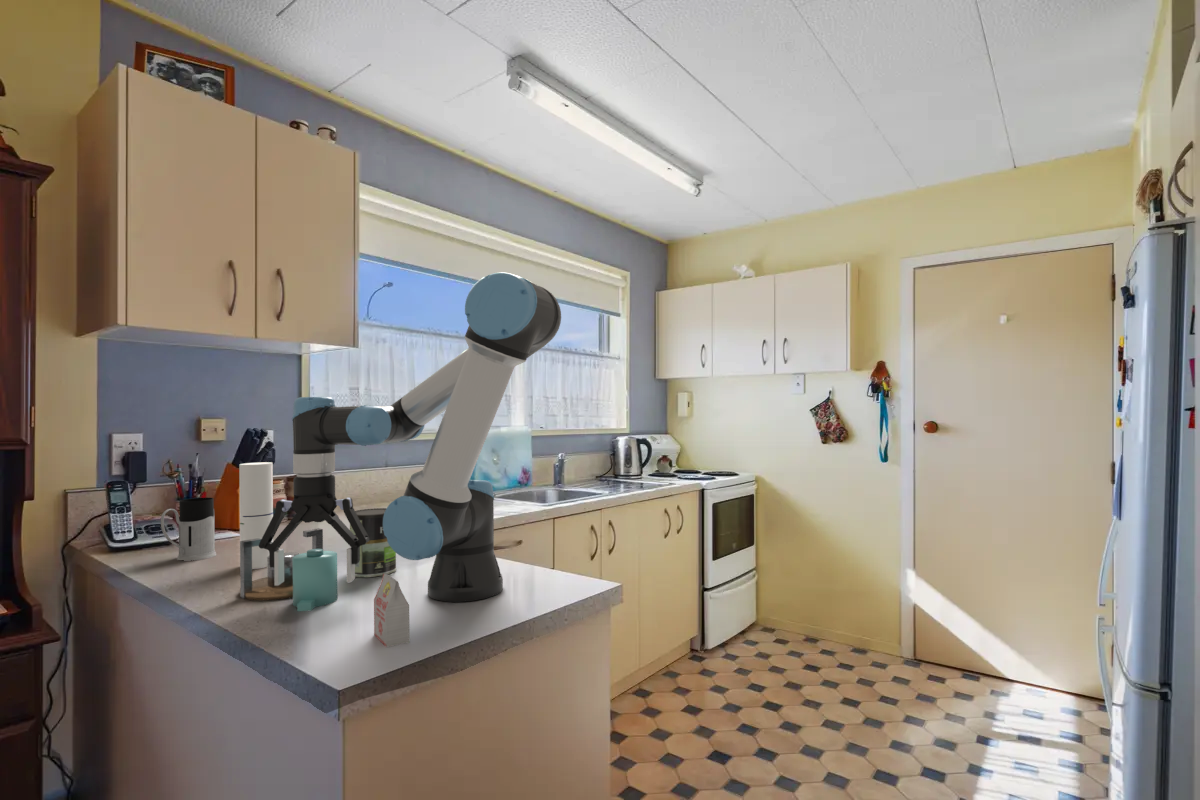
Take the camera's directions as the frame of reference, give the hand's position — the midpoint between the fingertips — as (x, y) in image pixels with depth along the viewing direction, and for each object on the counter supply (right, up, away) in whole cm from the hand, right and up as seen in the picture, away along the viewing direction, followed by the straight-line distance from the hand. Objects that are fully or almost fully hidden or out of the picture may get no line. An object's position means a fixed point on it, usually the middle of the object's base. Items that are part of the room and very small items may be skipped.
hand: (315, 582), depth 121 cm
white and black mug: (-50, -5, +37) cm, 62 cm away
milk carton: (+22, -3, -21) cm, 30 cm away
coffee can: (+3, -4, +22) cm, 22 cm away
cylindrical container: (-28, -5, +29) cm, 41 cm away
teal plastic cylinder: (0, -4, 0) cm, 4 cm away
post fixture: (-11, -4, +9) cm, 14 cm away
